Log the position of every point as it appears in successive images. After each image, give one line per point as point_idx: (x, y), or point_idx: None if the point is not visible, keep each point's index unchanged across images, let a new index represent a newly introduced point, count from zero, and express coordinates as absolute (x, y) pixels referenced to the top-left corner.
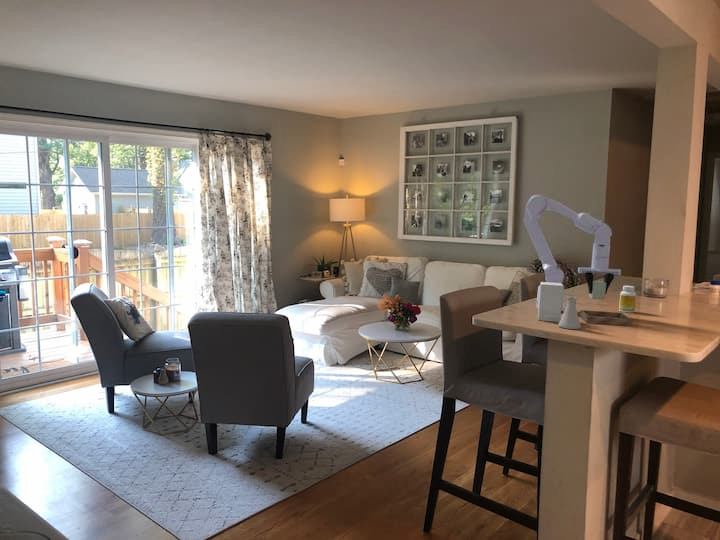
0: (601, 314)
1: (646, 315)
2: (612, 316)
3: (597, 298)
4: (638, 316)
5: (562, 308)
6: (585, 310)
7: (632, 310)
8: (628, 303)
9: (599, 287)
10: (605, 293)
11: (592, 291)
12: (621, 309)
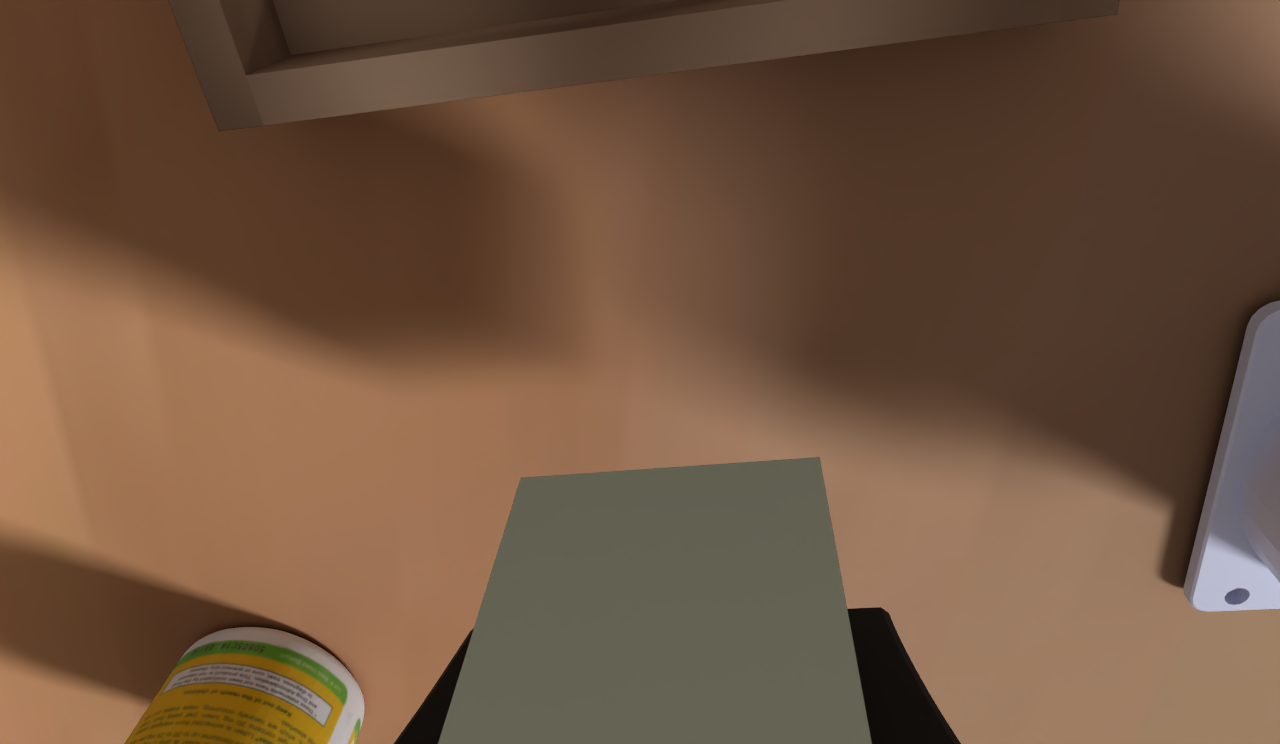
0: (622, 15)
1: (9, 545)
2: (409, 42)
3: (689, 473)
4: (77, 438)
5: (1261, 448)
6: (987, 16)
7: (183, 660)
8: (184, 732)
9: (645, 723)
10: None
11: (843, 613)
12: (321, 674)
